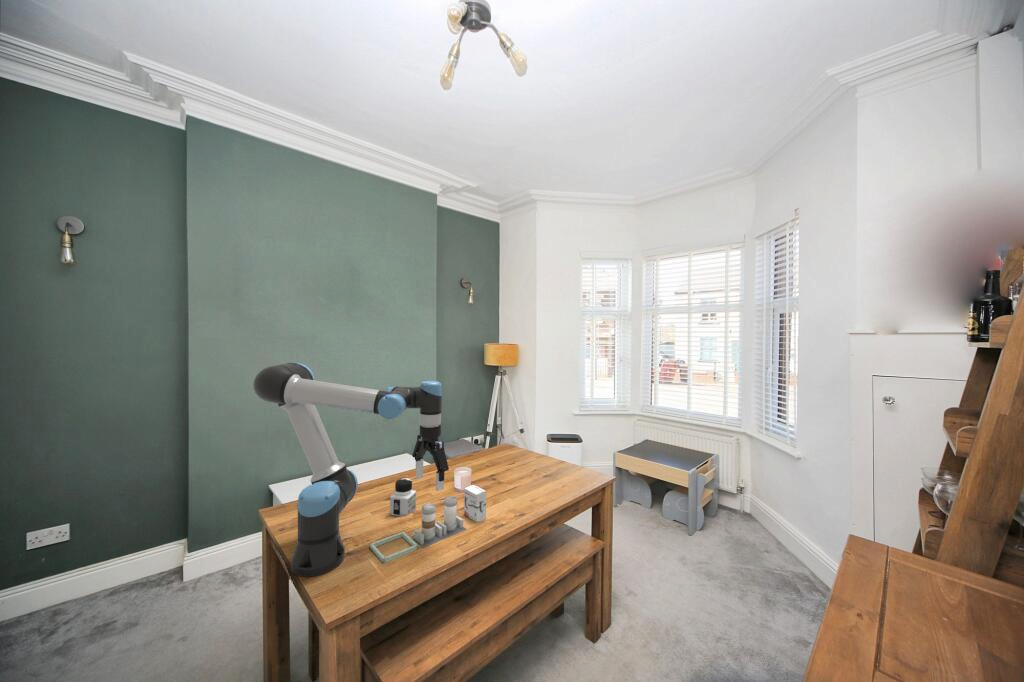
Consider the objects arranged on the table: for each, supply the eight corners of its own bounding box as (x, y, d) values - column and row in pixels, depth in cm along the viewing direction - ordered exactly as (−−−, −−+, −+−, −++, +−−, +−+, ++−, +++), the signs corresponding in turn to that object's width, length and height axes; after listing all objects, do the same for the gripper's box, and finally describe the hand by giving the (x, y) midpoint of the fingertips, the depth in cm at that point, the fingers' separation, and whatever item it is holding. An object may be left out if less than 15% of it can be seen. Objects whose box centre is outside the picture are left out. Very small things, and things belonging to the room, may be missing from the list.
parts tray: (383, 566, 116) (383, 559, 115) (369, 550, 124) (369, 544, 124) (418, 551, 124) (418, 545, 124) (403, 537, 132) (403, 531, 132)
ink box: (463, 516, 147) (463, 487, 147) (472, 512, 151) (473, 483, 151) (476, 525, 141) (477, 494, 141) (486, 520, 145) (487, 490, 145)
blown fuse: (425, 542, 127) (426, 511, 127) (418, 536, 131) (419, 506, 130) (437, 537, 130) (438, 506, 130) (430, 532, 134) (431, 502, 134)
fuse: (447, 533, 133) (448, 503, 133) (440, 528, 137) (441, 498, 137) (459, 528, 136) (459, 499, 136) (451, 523, 140) (452, 495, 140)
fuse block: (423, 550, 124) (423, 538, 124) (410, 539, 131) (410, 528, 131) (467, 532, 136) (467, 521, 136) (453, 522, 143) (453, 512, 143)
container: (407, 517, 146) (408, 485, 146) (389, 515, 147) (390, 483, 147) (416, 508, 153) (416, 477, 153) (399, 506, 155) (399, 475, 155)
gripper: (459, 430, 126) (458, 492, 126) (421, 417, 144) (420, 471, 144) (441, 434, 121) (439, 498, 121) (403, 419, 138) (402, 475, 139)
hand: (429, 483), depth 133 cm, fingers open, 13 cm apart
